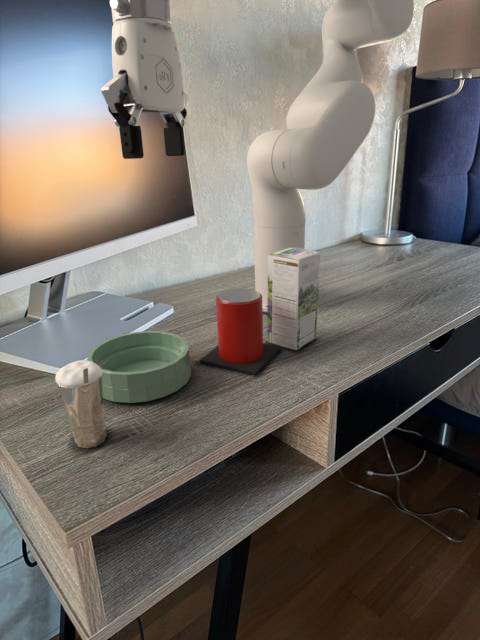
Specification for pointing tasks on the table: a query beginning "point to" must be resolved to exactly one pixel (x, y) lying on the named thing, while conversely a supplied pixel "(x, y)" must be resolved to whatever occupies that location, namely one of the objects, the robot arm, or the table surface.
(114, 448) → the table surface
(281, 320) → the syrup box
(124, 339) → the dish
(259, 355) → the can
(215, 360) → the coaster
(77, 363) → the milkshake
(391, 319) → the table surface
